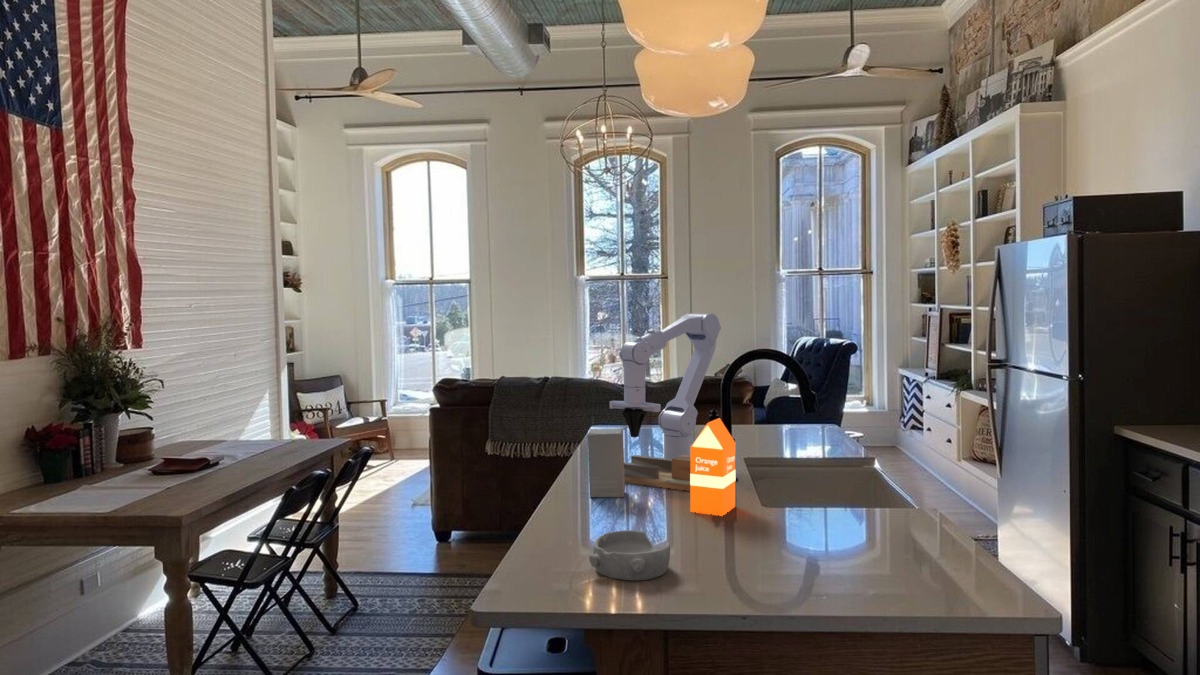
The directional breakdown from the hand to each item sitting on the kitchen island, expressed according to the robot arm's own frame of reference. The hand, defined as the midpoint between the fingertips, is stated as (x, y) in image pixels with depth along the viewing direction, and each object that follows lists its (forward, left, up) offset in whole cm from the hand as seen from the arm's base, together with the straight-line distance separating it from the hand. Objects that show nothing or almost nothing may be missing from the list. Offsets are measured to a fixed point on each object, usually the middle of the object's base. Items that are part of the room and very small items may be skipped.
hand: (634, 436), depth 211 cm
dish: (+66, +34, -10) cm, 75 cm away
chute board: (+4, +9, -10) cm, 14 cm away
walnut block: (+4, +17, -8) cm, 19 cm away
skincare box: (+24, +5, -10) cm, 27 cm away
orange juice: (+23, +32, -10) cm, 41 cm away
